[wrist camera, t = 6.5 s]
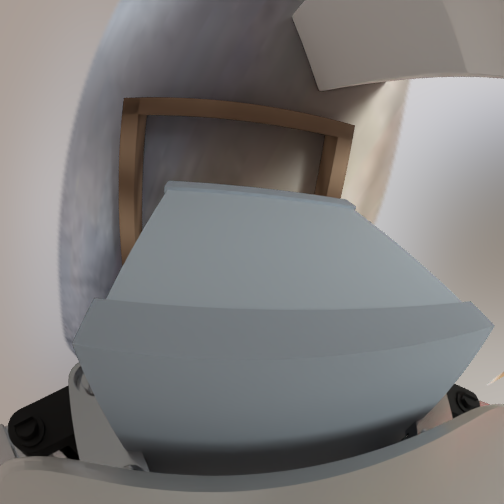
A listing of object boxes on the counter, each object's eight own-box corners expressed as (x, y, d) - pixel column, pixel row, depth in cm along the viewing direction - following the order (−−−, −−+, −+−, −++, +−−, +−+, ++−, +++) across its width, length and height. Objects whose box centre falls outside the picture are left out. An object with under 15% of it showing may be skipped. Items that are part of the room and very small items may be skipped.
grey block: (168, 180, 8) (71, 343, 2) (346, 199, 10) (494, 325, 3) (171, 357, 12) (164, 501, 6) (297, 359, 13) (339, 486, 7)
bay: (133, 100, 17) (121, 97, 14) (340, 124, 20) (357, 125, 17) (142, 350, 28) (137, 370, 25) (285, 355, 31) (291, 374, 28)
